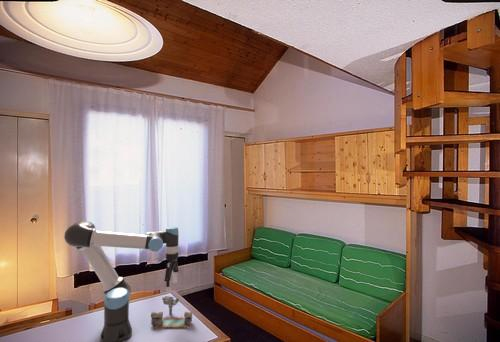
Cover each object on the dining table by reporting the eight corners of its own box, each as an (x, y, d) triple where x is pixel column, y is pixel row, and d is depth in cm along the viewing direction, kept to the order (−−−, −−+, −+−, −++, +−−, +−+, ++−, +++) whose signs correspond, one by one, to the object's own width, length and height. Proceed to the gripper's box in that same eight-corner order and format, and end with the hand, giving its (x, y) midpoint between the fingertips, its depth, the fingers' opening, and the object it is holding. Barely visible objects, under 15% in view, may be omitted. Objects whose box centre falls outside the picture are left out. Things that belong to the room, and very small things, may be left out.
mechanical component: (177, 316, 162) (177, 299, 162) (161, 314, 164) (161, 298, 164) (179, 313, 165) (179, 297, 165) (164, 312, 167) (164, 295, 167)
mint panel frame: (149, 328, 149) (149, 315, 149) (154, 319, 158) (154, 307, 158) (190, 328, 149) (190, 315, 149) (193, 319, 158) (193, 307, 158)
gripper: (172, 258, 152) (171, 296, 152) (183, 247, 177) (182, 279, 177) (159, 258, 152) (158, 296, 152) (172, 247, 177) (171, 279, 177)
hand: (171, 287), depth 164 cm, fingers open, 13 cm apart
